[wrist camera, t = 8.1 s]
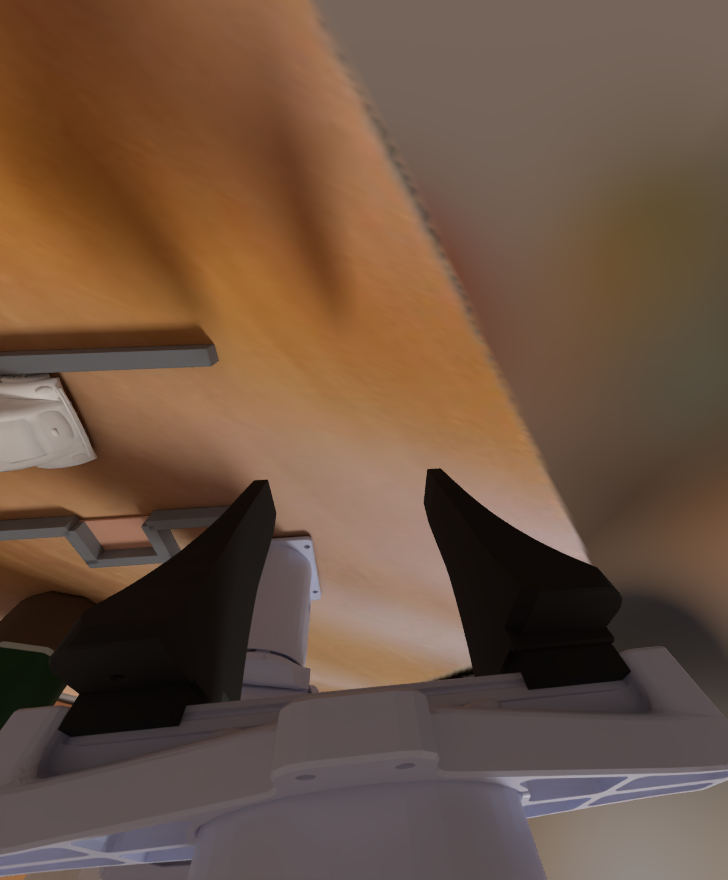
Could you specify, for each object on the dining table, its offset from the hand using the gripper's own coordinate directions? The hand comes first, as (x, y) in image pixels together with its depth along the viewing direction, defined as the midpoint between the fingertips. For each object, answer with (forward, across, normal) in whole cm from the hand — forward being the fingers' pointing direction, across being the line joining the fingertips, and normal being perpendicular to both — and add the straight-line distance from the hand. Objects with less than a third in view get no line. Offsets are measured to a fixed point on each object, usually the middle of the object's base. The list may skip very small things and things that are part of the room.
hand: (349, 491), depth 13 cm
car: (+9, +23, -1) cm, 25 cm away
